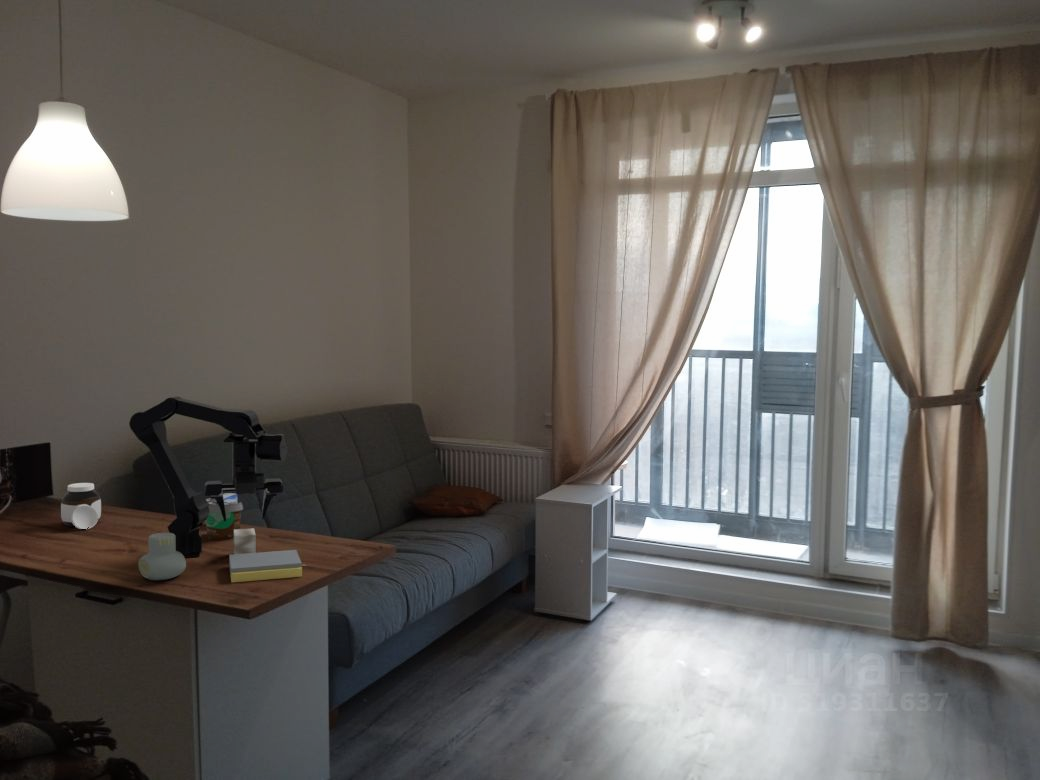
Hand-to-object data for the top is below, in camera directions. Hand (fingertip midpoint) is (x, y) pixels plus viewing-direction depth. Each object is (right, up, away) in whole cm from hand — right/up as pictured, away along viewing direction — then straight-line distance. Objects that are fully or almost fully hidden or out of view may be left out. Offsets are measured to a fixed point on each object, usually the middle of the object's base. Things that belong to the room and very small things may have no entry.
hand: (244, 520), depth 215 cm
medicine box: (-17, -7, +33) cm, 37 cm away
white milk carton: (0, -10, +1) cm, 10 cm away
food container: (-13, -8, +18) cm, 24 cm away
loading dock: (+9, -11, -11) cm, 17 cm away
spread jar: (-55, -6, +28) cm, 62 cm away
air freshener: (-14, -11, -17) cm, 24 cm away
